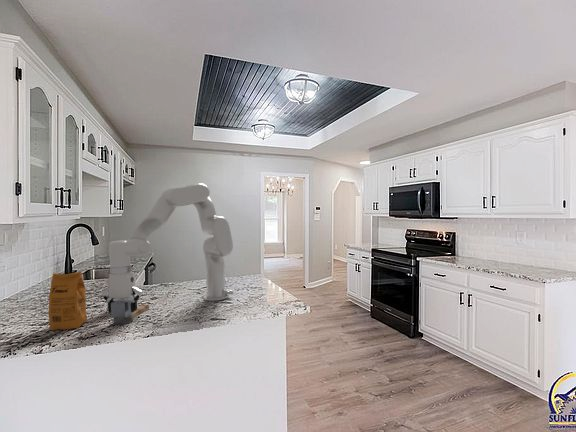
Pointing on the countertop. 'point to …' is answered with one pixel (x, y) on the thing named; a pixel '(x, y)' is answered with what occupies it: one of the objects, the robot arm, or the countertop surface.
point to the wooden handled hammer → (130, 318)
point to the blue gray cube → (121, 308)
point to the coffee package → (67, 301)
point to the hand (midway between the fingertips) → (122, 311)
